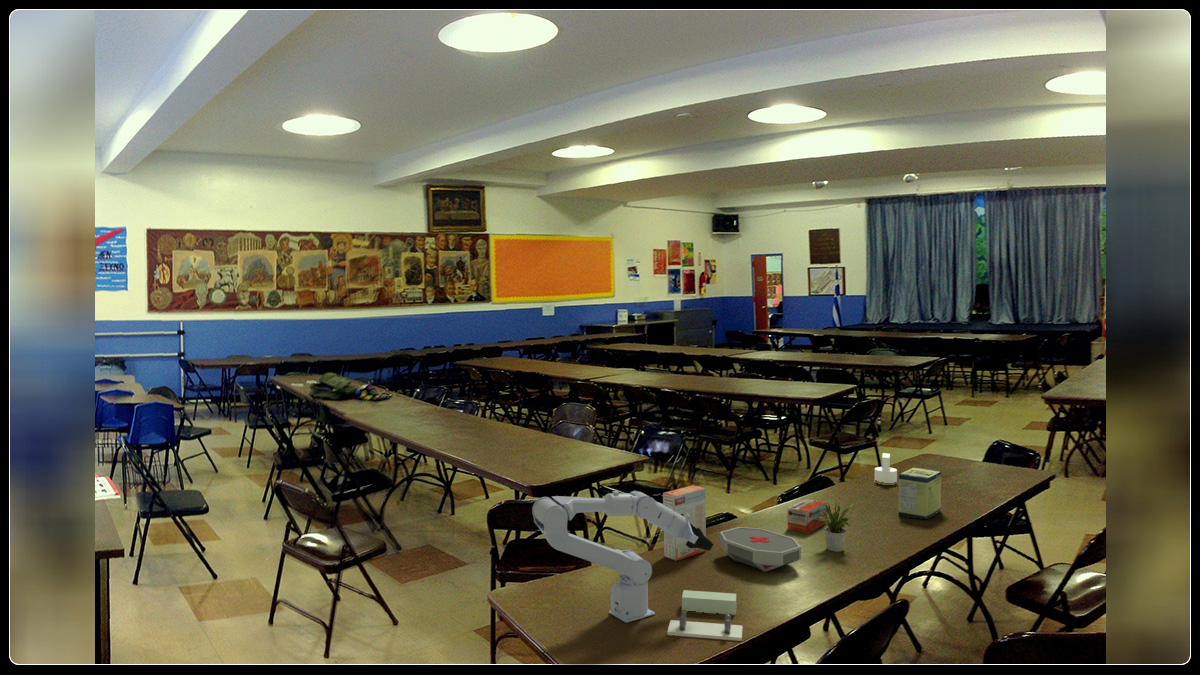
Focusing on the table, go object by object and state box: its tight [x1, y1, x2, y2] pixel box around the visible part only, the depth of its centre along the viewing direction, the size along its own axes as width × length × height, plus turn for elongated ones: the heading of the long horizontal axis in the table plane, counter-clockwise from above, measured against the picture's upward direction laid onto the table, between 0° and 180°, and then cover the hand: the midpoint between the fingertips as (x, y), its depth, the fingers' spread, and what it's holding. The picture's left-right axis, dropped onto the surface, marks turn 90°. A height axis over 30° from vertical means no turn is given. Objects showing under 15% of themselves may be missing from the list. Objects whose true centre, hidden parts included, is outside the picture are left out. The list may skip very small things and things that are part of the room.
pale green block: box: [681, 589, 737, 616], centre depth 211 cm, size 14×5×4 cm, turn 78°
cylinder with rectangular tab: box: [874, 452, 898, 483], centre depth 341 cm, size 9×9×12 cm
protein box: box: [897, 466, 942, 520], centre depth 295 cm, size 10×16×16 cm
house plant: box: [812, 498, 855, 553], centre depth 257 cm, size 14×14×16 cm
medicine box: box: [787, 498, 827, 534], centre depth 281 cm, size 15×8×8 cm, turn 140°
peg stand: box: [666, 610, 744, 642], centre depth 197 cm, size 18×7×4 cm, turn 78°
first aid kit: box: [719, 526, 802, 573], centre depth 245 cm, size 18×8×25 cm
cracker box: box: [662, 484, 707, 562], centre depth 253 cm, size 14×6×21 cm, turn 130°
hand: (704, 541), depth 215 cm, fingers open, 7 cm apart
